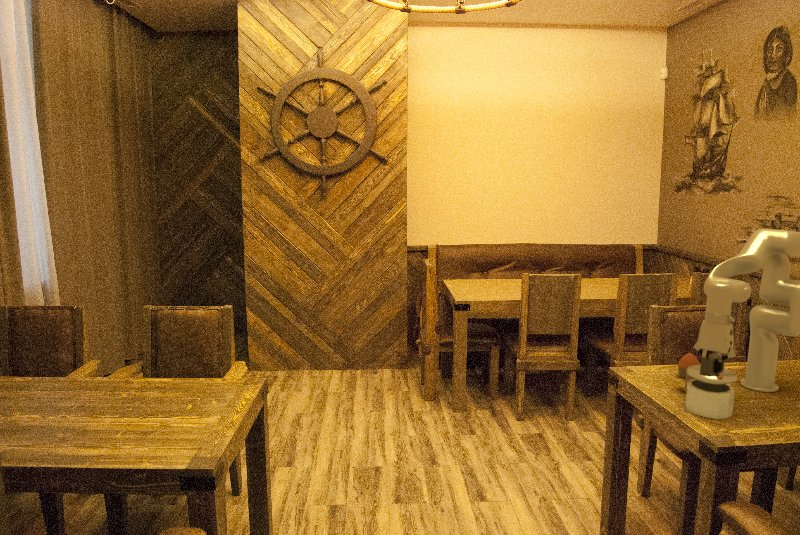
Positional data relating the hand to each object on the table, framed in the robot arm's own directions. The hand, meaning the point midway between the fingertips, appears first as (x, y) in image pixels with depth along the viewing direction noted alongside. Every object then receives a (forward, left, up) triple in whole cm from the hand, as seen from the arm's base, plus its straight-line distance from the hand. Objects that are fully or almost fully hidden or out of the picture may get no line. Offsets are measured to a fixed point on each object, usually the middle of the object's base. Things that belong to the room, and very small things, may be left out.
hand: (712, 370), depth 205 cm
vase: (-27, -20, -15) cm, 37 cm away
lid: (0, 0, -3) cm, 3 cm away
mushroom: (-12, -13, -15) cm, 23 cm away
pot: (0, 0, -15) cm, 15 cm away
